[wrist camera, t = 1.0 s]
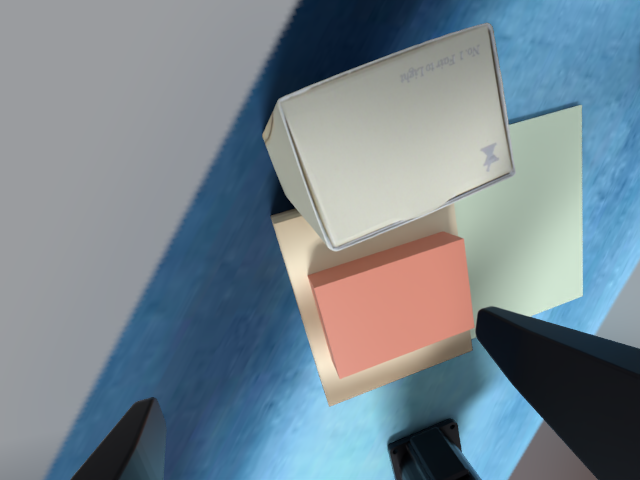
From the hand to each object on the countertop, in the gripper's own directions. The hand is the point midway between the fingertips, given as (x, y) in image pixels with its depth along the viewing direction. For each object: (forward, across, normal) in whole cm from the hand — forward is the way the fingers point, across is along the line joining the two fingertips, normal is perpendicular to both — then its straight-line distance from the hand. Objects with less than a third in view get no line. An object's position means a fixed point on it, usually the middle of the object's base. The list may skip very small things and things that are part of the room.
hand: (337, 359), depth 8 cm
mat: (+12, -19, +3) cm, 22 cm away
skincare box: (+14, -4, -4) cm, 15 cm away
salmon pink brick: (+8, -6, +5) cm, 11 cm away
